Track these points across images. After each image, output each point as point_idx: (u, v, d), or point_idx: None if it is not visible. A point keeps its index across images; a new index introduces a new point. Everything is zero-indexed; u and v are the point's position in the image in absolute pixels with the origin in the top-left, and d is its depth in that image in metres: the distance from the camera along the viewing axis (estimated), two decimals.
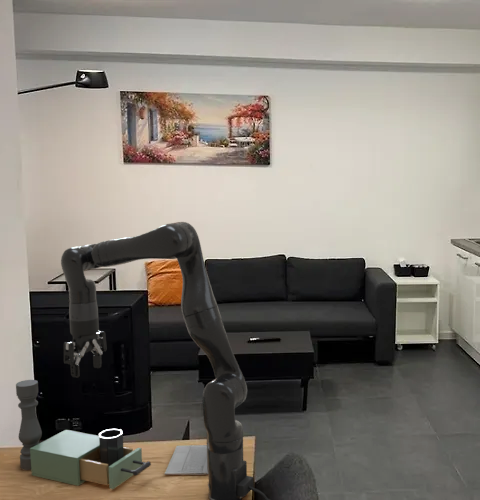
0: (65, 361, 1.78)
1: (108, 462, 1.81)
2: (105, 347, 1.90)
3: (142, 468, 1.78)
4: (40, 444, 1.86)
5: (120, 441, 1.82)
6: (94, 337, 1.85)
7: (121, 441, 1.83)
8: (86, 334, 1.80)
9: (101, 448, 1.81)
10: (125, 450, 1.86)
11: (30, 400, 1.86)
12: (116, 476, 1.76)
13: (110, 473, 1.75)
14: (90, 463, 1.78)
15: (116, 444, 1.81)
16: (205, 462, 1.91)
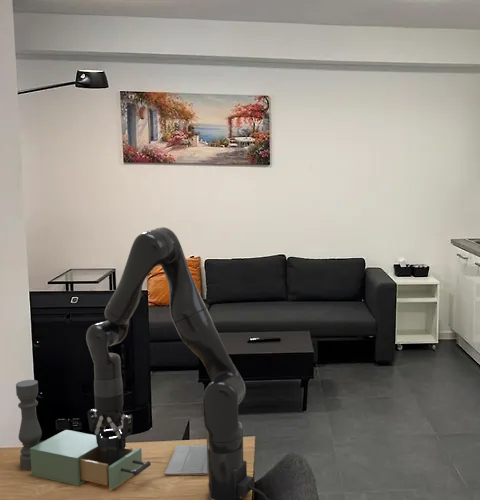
0: None
1: (108, 462, 1.81)
2: (124, 434, 1.80)
3: (142, 468, 1.78)
4: (40, 444, 1.86)
5: None
6: (114, 417, 1.80)
7: None
8: (95, 407, 1.80)
9: (101, 448, 1.81)
10: (125, 450, 1.86)
11: (30, 400, 1.86)
12: (116, 476, 1.76)
13: (110, 473, 1.75)
14: (89, 463, 1.78)
15: (116, 444, 1.81)
16: (205, 462, 1.91)
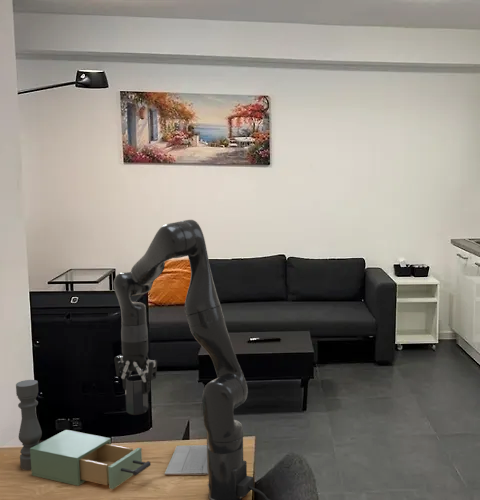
0: None
1: (134, 404, 1.93)
2: (149, 377, 1.92)
3: (142, 468, 1.78)
4: (40, 444, 1.86)
5: None
6: (140, 361, 1.92)
7: None
8: (122, 353, 1.92)
9: (127, 391, 1.93)
10: (125, 450, 1.86)
11: (30, 400, 1.86)
12: (116, 476, 1.76)
13: (110, 473, 1.75)
14: (90, 463, 1.78)
15: (141, 387, 1.93)
16: (205, 462, 1.91)
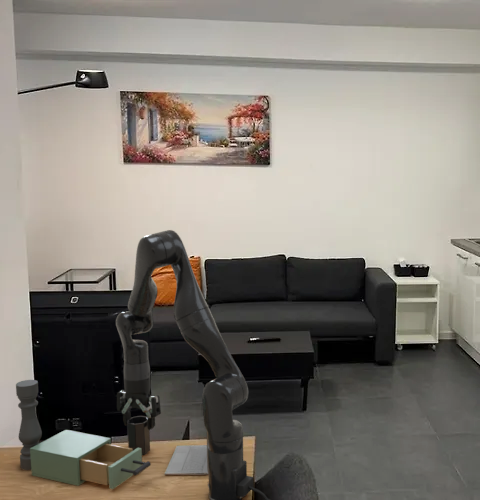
0: None
1: (136, 447, 1.95)
2: (154, 413, 1.94)
3: (142, 468, 1.78)
4: (40, 444, 1.86)
5: (147, 427, 1.97)
6: (142, 398, 1.94)
7: (147, 427, 1.97)
8: (125, 390, 1.94)
9: (129, 433, 1.95)
10: (125, 450, 1.86)
11: (30, 400, 1.86)
12: (116, 476, 1.76)
13: (110, 473, 1.75)
14: (90, 463, 1.78)
15: (143, 430, 1.95)
16: (205, 462, 1.91)
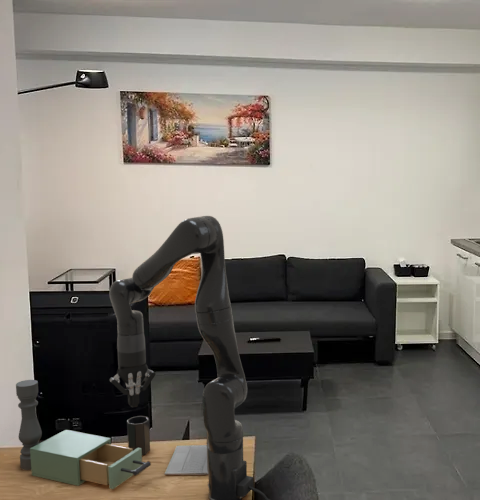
0: None
1: (136, 447, 1.95)
2: (145, 387, 1.86)
3: (142, 468, 1.78)
4: (40, 444, 1.86)
5: (147, 427, 1.97)
6: (143, 372, 1.86)
7: (147, 427, 1.97)
8: (126, 366, 1.81)
9: (129, 433, 1.95)
10: (125, 450, 1.86)
11: (30, 400, 1.86)
12: (116, 476, 1.76)
13: (110, 473, 1.75)
14: (90, 463, 1.78)
15: (143, 430, 1.95)
16: (205, 462, 1.91)
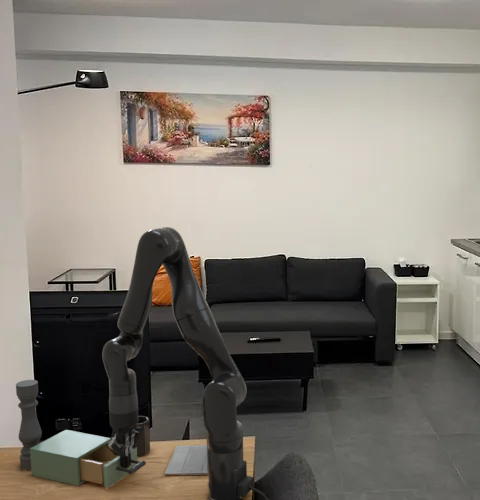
0: (115, 454, 1.77)
1: None
2: (135, 444, 1.82)
3: (137, 467, 1.79)
4: (40, 444, 1.86)
5: (147, 427, 1.97)
6: (134, 430, 1.81)
7: (147, 427, 1.97)
8: (126, 426, 1.76)
9: None
10: None
11: (30, 400, 1.86)
12: (111, 475, 1.77)
13: (105, 472, 1.75)
14: (85, 462, 1.78)
15: (143, 430, 1.95)
16: (205, 462, 1.91)
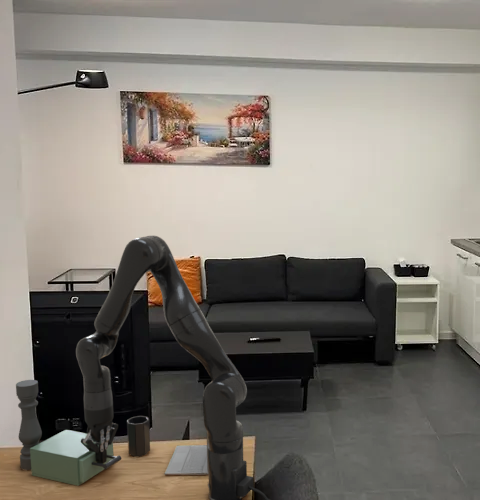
0: (91, 450, 1.80)
1: (136, 447, 1.95)
2: (111, 440, 1.85)
3: (112, 462, 1.81)
4: (40, 444, 1.86)
5: (147, 427, 1.97)
6: (109, 426, 1.84)
7: (147, 427, 1.97)
8: (101, 423, 1.78)
9: (129, 433, 1.95)
10: None
11: (30, 400, 1.86)
12: (86, 470, 1.80)
13: (80, 467, 1.78)
14: None
15: (143, 430, 1.95)
16: (205, 462, 1.91)
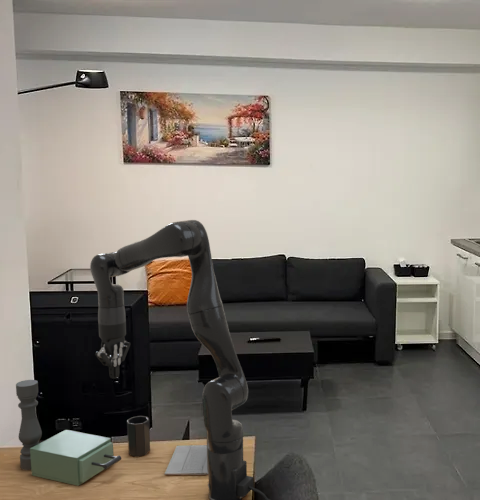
0: (104, 364, 1.89)
1: (136, 447, 1.95)
2: (124, 357, 1.94)
3: (112, 462, 1.81)
4: (40, 444, 1.86)
5: (147, 427, 1.97)
6: None
7: (147, 427, 1.97)
8: (114, 337, 1.87)
9: (129, 433, 1.95)
10: None
11: (30, 400, 1.86)
12: (86, 470, 1.80)
13: (80, 467, 1.78)
14: None
15: (143, 430, 1.95)
16: (205, 462, 1.91)
